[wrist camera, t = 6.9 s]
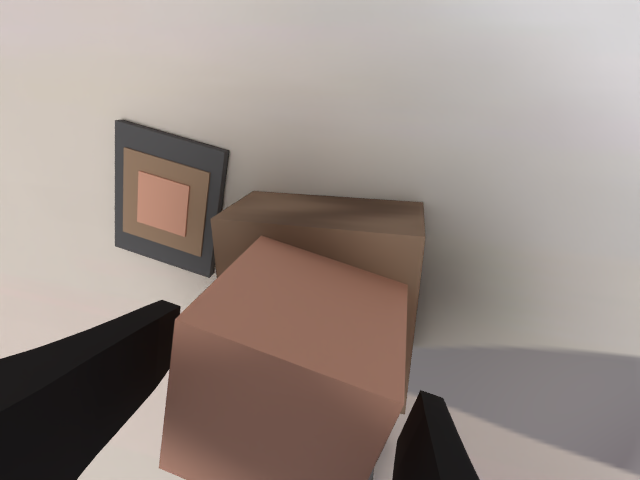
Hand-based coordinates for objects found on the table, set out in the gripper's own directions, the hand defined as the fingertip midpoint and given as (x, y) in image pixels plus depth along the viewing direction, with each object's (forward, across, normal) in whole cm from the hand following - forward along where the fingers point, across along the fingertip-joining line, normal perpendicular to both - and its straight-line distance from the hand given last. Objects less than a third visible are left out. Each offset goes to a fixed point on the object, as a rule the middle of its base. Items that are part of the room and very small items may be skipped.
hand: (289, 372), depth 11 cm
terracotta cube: (+3, 0, 0) cm, 3 cm away
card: (+6, +8, -1) cm, 10 cm away
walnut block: (+7, 0, 0) cm, 7 cm away
